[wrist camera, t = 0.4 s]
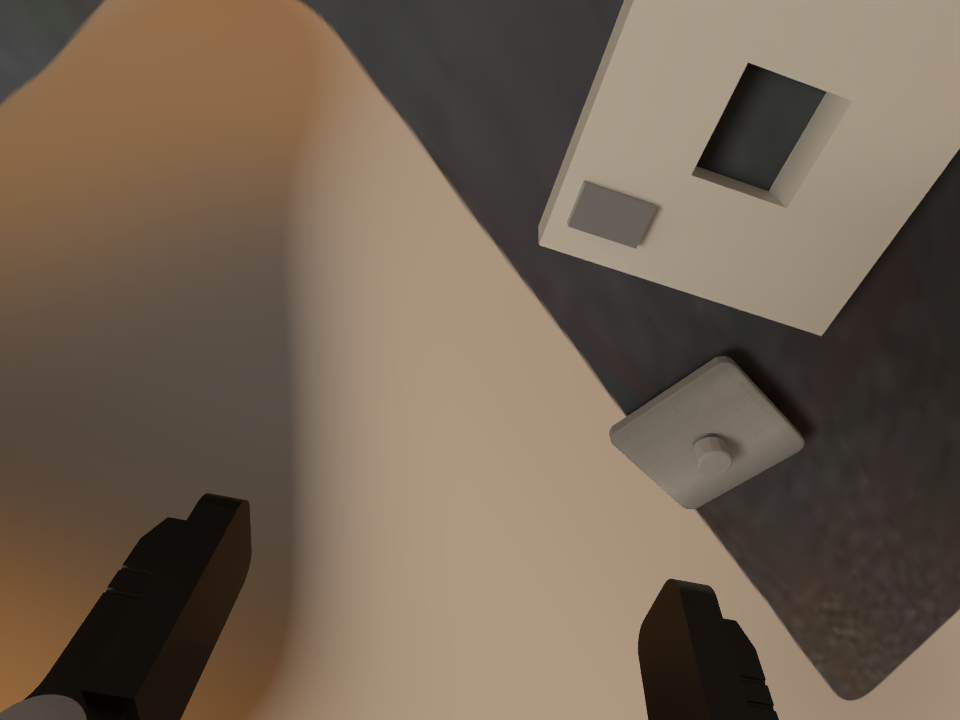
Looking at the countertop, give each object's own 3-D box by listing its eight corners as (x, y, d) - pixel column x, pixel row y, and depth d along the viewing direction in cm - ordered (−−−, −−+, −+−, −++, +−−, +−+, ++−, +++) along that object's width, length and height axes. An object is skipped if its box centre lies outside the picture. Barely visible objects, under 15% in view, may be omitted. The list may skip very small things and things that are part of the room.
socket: (676, -138, 27) (696, -152, 24) (1019, 0, 29) (1080, 4, 26) (538, 226, 37) (539, 250, 34) (802, 312, 39) (827, 342, 35)
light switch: (716, 335, 40) (738, 378, 36) (795, 421, 43) (824, 469, 39) (601, 414, 44) (608, 461, 40) (681, 487, 48) (696, 537, 43)
